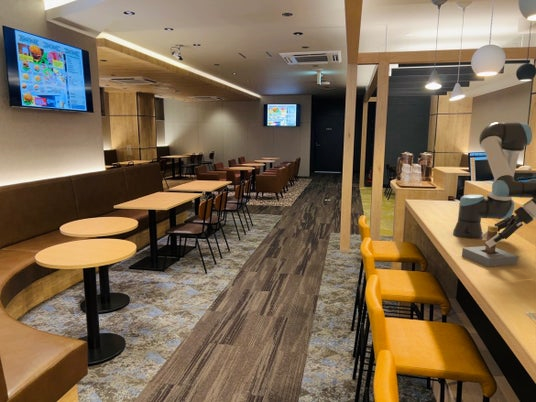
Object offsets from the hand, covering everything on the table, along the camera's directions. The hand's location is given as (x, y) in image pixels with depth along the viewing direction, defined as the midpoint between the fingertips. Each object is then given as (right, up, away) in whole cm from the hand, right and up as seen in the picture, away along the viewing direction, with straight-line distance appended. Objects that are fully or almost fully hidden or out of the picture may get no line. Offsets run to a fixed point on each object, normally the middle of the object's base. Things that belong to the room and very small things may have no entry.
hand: (485, 241), depth 180 cm
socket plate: (+2, -9, +1) cm, 9 cm away
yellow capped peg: (+2, -9, +1) cm, 9 cm away
